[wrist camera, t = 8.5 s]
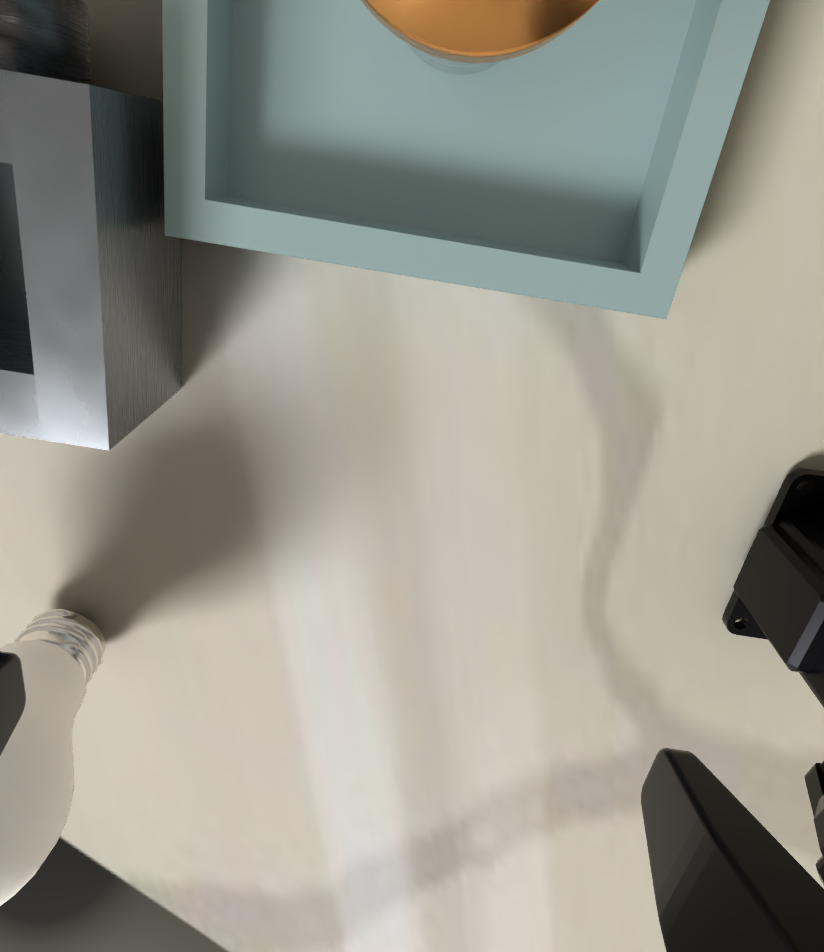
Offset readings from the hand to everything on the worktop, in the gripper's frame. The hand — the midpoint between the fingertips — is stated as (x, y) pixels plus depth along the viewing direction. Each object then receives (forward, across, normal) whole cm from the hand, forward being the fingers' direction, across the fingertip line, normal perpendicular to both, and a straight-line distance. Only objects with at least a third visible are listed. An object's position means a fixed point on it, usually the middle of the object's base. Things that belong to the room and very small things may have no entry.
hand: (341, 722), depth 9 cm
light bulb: (+13, +11, +11) cm, 20 cm away
